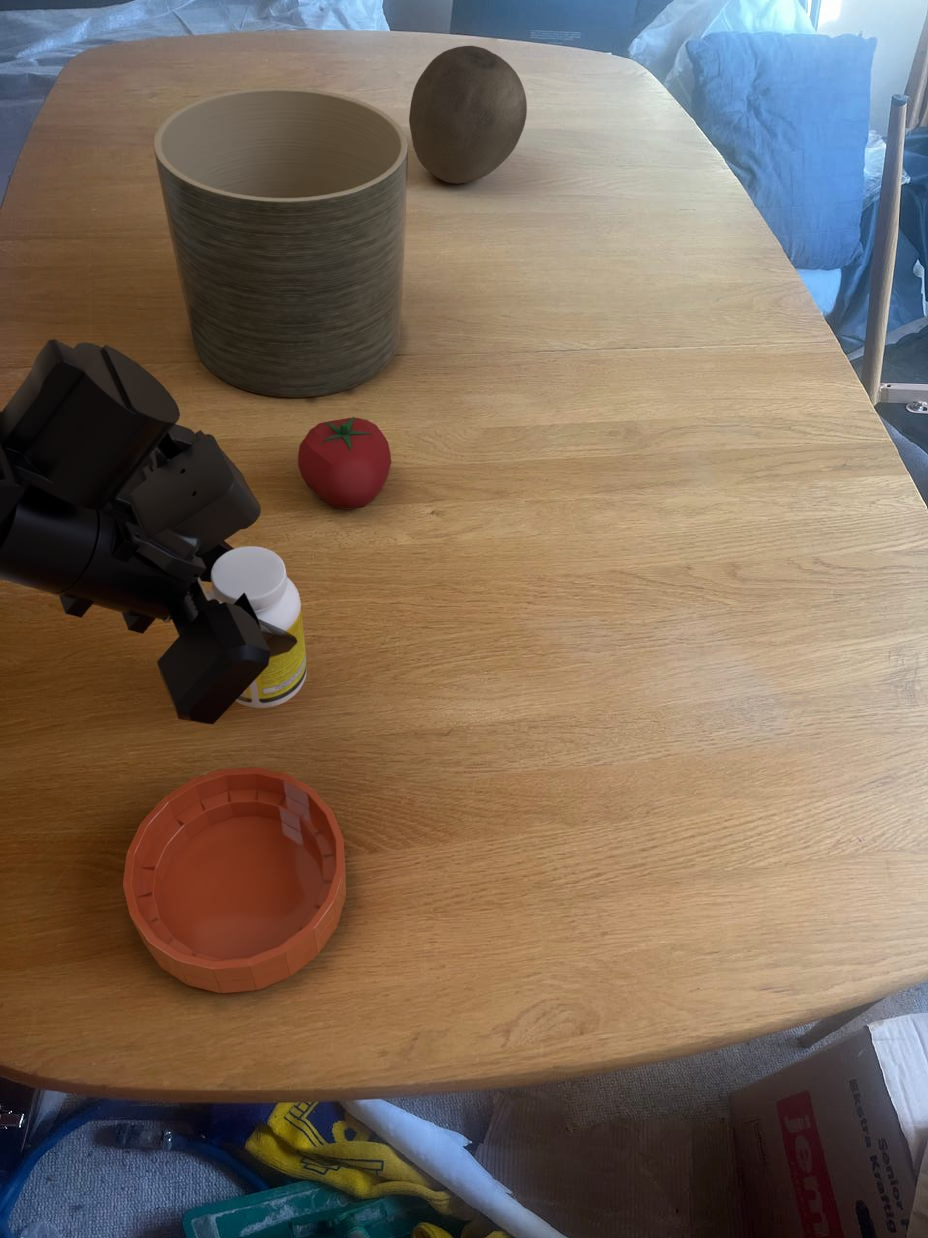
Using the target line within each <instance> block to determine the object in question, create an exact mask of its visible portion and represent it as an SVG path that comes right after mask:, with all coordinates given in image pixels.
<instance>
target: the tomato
mask: <svg viewBox="0 0 928 1238" xmlns="http://www.w3.org/2000/svg"><path fill="white" fill-rule="evenodd" d="M391 465H392V456H391V449H390V445H389V441H388V439H387V438H386V436H385V434H384V433H383V432H382V430H381V429H380V427H379V426H378V425H377V424H376V423H374V422H372V421H370V420H368V419H364V418H360V417H355V416H352V417H346V418H340V419H335V420H334V419H333V420H329V421H322V422H319V423H317V425H315V426H314V427H312V428H311V429H309V431H308V432H307V434H306V435H305V437H304V438H303V440H302V441H301V443H300V444H299V448H298V452H297V466H298V469H299V470H298V471H299V473H300V477H301V478H302V479H303V482H304V484H305V485H306V487H307V488H308V489H310V491H311V492H312V493H313V494H315V495H317V496H318V497H319V498H321V499H322V500H324V501H325V502H326V503H328V504H330V505H331V506H333V508H338V509H345V510H357V509H361V508H365V507H366V506H367V505H369V504H370V503H372V501H374V500H375V499H376V498H377V497H378V495H380V492H381V491H382V489H383V487H384V486H385V483H386V481H387V479H388V477H389V472H390V469H391Z"/></svg>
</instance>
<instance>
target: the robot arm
mask: <svg viewBox="0 0 928 1238" xmlns="http://www.w3.org/2000/svg"><path fill="white" fill-rule="evenodd" d="M180 417H181V412H180V408H179V406H178V403H177V402H176V400H175V399H174V397H173V396H172V395H171V393H170V392H169V390H167V389H166V388H165V386H164V385H163V384H162V383H161V381H159V380H158V379H157V378H156V377H155V376H153V375H152V374H151V373H150V372H149V371H148V370H147V369H145V368H144V367H143V366H142V365H141V364H139V363H138V362H136V361H135V360H134V359H132V358H131V357H129V356H128V355H126V354H124V353H123V352H121V351H119V350H118V349H116V348H114V347H112V346H111V345H108V344H103V346H101V345H98V344H95V343H91V342H85V341H84V342H78V343H77V344H76V345H75V346H73V347H72V346H70V345H68V344H66V343H65V342H62V341H60V340H58V339H56V338H52V339H48V340H47V342H46V343H45V345H44V346H43V347H42V349H41V350H40V351H39V353H38V354H37V356H36V357H35V359H34V362H33V364H32V367H31V369H30V371H29V373H28V375H27V377H26V378H25V379H24V380H23V382H21V385H19V387H18V389H17V390H16V391H15V393H14V394H13V396H12V397H11V398H10V399H9V401H8V402H7V404H6V405H5V407H4V408H3V409H2V411H1V410H0V580H2V581H6V582H10V583H14V584H17V585H20V586H24V587H28V588H31V589H34V590H39V591H42V592H46V593H50V594H53V595H55V596H56V595H57V596H58V597H59V600H60V604H61V606H62V609H63V611H64V614H65V615H68V616H73V617H76V618H81V619H82V618H83V616H85V614H86V613H87V611H89V610H90V608H91V607H92V606H95V607H100V608H102V609H103V608H104V609H107V610H111V611H113V612H114V611H115V612H118V613H120V614H121V615H122V617H123V620H124V622H125V625H126V628H127V630H128V631H131V632H134V633H138V634H142V635H143V634H144V633H145V632H146V631H147V630H148V629H149V628H150V626H151V625H152V624H153V623H154V622H155V620H156V619H157V620H161V621H162V622H164V623H170V622H171V621H172V623H173V625H174V627H175V630H176V633H177V635H178V637H177V638H176V639H175V640H174V641H173V643H172V644H170V646H169V647H168V648H167V649H166V651H165V652H164V653H162V655H161V656H160V658H158V659H157V661H156V663H157V668H158V671H159V674H160V677H161V680H162V681H163V685H164V687H165V689H166V692H167V694H168V697H169V700H170V702H171V704H172V706H173V709H174V711H175V714H176V716H177V719H178V720H182V721H189V722H194V723H199V724H205V725H211V726H213V725H214V724H216V722H217V721H219V719H220V718H221V717H222V716H223V715H224V714H225V713H226V712H227V711H228V710H229V708H230V707H232V705H233V704H234V703H235V702H236V700H237V699H238V697H239V696H240V695H241V694H242V693H243V692H244V691H245V690H246V689H247V688H248V687H249V686H250V685H251V683H252V682H253V681H254V680H255V679H256V678H257V677H258V676H259V675H260V674H261V673H262V672H263V671H264V669H265V668H266V667H267V666H268V664H269V659H270V657H273V656H276V655H279V654H283V653H286V652H288V651H290V650H291V649H292V648H293V647H294V646H295V644H296V643H297V639H296V637H295V636H293V635H291V634H290V633H288V632H286V631H284V630H282V629H280V628H278V627H276V626H274V625H271V624H269V623H267V622H265V621H263V620H260V619H258V617H257V615H256V613H255V611H254V609H253V607H252V605H251V603H250V601H249V599H248V597H247V595H246V594H245V593H243V594H242V595H241V596H240V597H239V598H238V600H237V601H236V602H235V603H234V604H230V603H227V602H224V603H222V601H220V600H217V599H212V600H210V598H209V596H208V594H209V593H208V592H207V590H206V588H205V586H204V584H203V583H204V582H205V583H212V582H211V571H212V568H213V565H214V564H215V562H216V561H217V560H218V559H219V558H220V557H221V556H222V555H223V554H225V553H226V552H228V551H230V550H233V549H235V548H234V547H232V545H230V543H228V542H227V541H226V540H227V539H229V538H230V537H232V536H234V535H235V534H236V533H238V532H239V531H241V530H247V529H249V528H250V527H251V526H252V525H254V524H255V523H256V522H257V520H258V519H259V518H260V515H261V512H262V508H261V504H260V502H259V500H258V499H257V498H256V496H255V494H254V492H253V491H252V489H251V487H250V486H249V484H248V482H247V480H246V476H244V474H243V472H242V471H241V470H240V468H238V467H237V465H235V463H234V462H233V461H232V459H231V458H230V457H229V456H228V455H227V454H226V453H225V451H224V450H223V449H222V448H221V447H220V445H219V442H218V441H217V439H216V438H215V436H214V435H212V434H210V433H204V432H203V431H202V430H201V429H199V430H198V431H196V432H195V431H194V430H193V429H191V428H189V427H186V426H183V425H180V424H177V422H178V421H179V420H180Z"/></svg>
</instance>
